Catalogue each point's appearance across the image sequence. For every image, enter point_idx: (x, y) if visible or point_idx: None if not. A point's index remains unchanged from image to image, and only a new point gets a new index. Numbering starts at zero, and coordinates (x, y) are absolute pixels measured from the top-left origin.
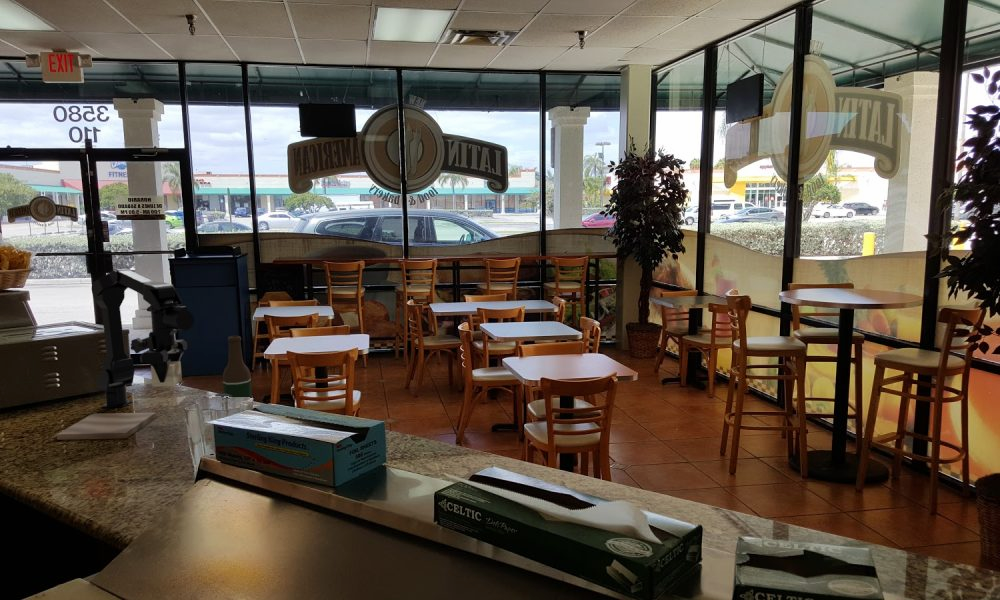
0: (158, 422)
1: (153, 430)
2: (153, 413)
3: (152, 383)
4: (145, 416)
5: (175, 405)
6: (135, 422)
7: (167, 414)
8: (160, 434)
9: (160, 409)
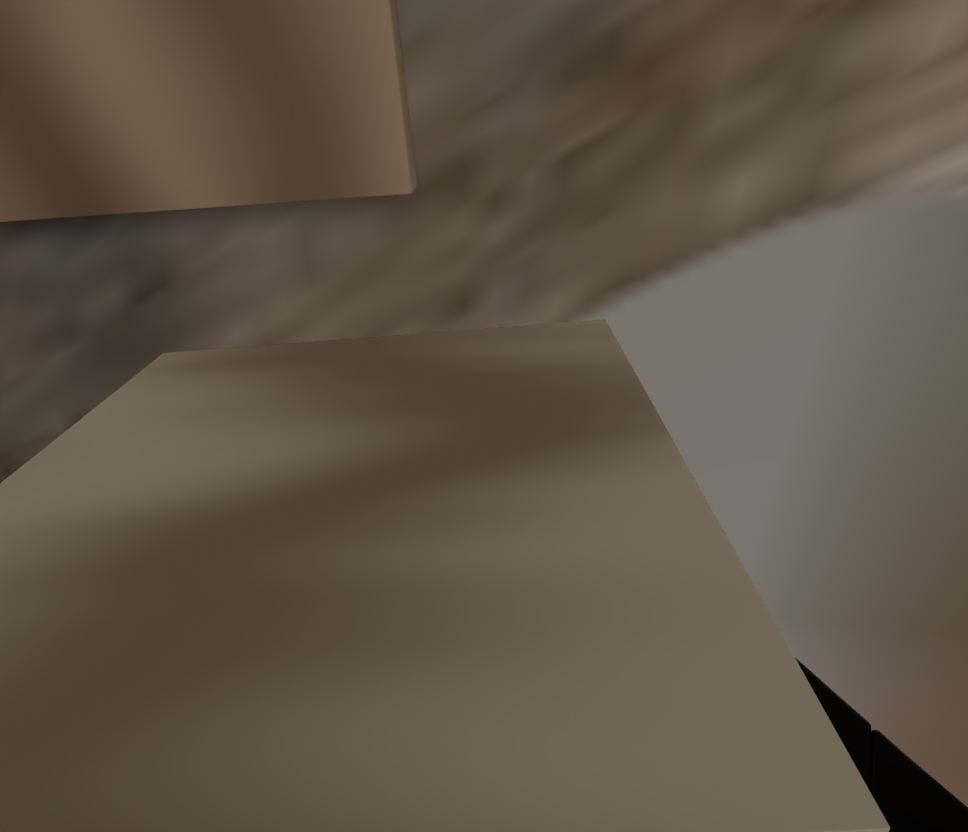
0: (276, 288)
1: (73, 354)
2: (374, 185)
3: (129, 390)
4: (258, 148)
5: (846, 178)
6: (41, 150)
7: (521, 251)
8: (16, 448)
9: (718, 72)
